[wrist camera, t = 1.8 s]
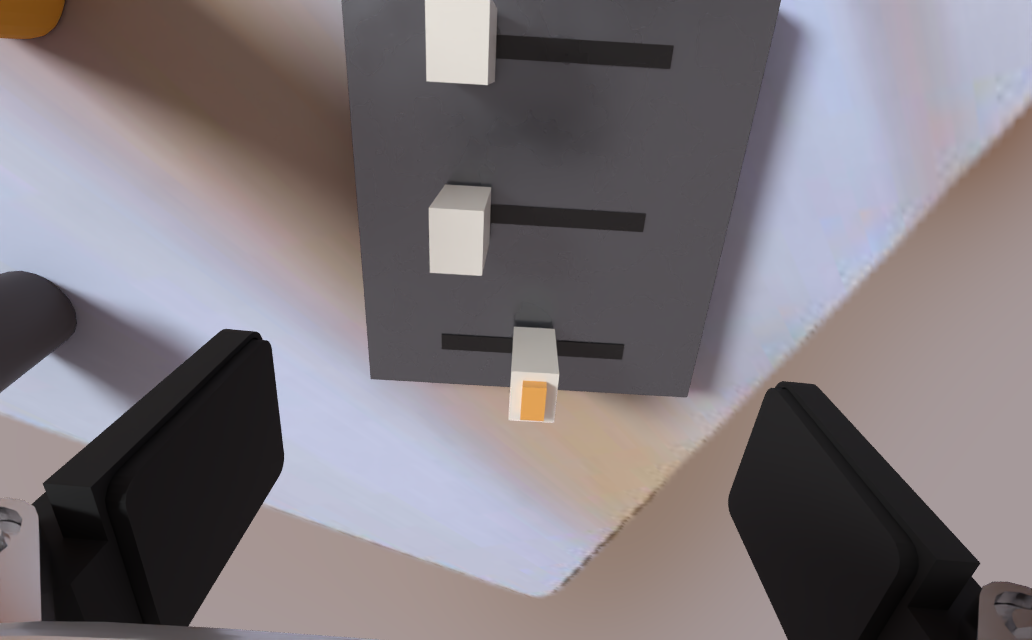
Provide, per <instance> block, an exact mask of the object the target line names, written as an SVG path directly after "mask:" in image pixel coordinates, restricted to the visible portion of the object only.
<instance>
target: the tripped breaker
mask: <svg viewBox="0 0 1032 640" xmlns="http://www.w3.org/2000/svg"><path fill="white" fill-rule="evenodd" d="M558 381H559V367H558V357H557V347H556V337H555V329H546V328H529V327H514V332H513V349H512V366H511V383H510V401H509V419H508V420H515V421H532V422H549V423H554V419H555V409H556V400H557V390H558Z"/></svg>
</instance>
